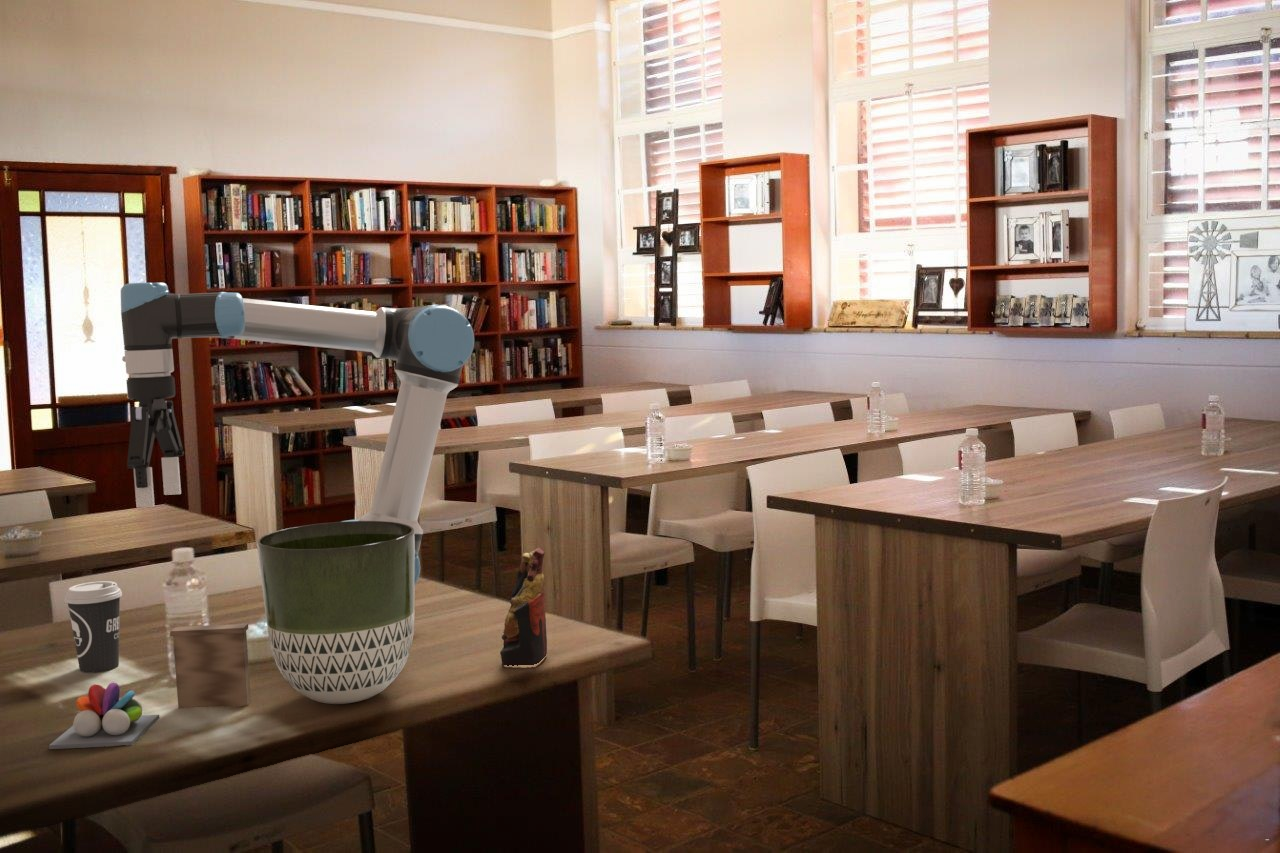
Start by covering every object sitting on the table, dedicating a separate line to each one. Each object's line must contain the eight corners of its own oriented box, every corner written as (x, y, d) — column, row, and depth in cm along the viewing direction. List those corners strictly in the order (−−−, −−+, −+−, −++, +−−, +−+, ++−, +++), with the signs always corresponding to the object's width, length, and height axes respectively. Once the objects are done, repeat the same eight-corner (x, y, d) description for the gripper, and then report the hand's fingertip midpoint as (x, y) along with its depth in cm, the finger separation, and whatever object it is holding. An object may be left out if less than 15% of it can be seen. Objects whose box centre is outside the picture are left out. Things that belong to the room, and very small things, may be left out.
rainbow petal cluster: (89, 721, 195) (85, 676, 194) (152, 719, 195) (148, 673, 194) (65, 740, 186) (61, 693, 186) (131, 737, 186) (127, 690, 186)
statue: (512, 652, 228) (508, 543, 226) (554, 653, 226) (550, 544, 224) (490, 671, 216) (486, 556, 214) (535, 672, 214) (530, 557, 213)
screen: (253, 700, 204) (248, 623, 203) (249, 705, 202) (243, 627, 200) (181, 704, 204) (175, 627, 202) (175, 709, 201) (170, 631, 200)
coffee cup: (106, 676, 221) (100, 592, 220) (58, 674, 223) (51, 591, 222) (138, 660, 231) (132, 580, 229) (92, 659, 233) (85, 579, 231)
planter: (294, 677, 217) (284, 522, 214) (435, 673, 216) (427, 518, 213) (246, 725, 192) (234, 551, 190) (404, 721, 191) (395, 547, 189)
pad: (159, 718, 197) (159, 714, 197) (132, 745, 185) (131, 741, 185) (81, 722, 196) (81, 718, 196) (49, 749, 185) (49, 745, 184)
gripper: (152, 372, 223) (161, 490, 225) (98, 380, 198) (109, 513, 200) (195, 370, 223) (204, 488, 225) (147, 378, 198) (157, 511, 200)
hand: (159, 500), depth 213 cm, fingers open, 13 cm apart
